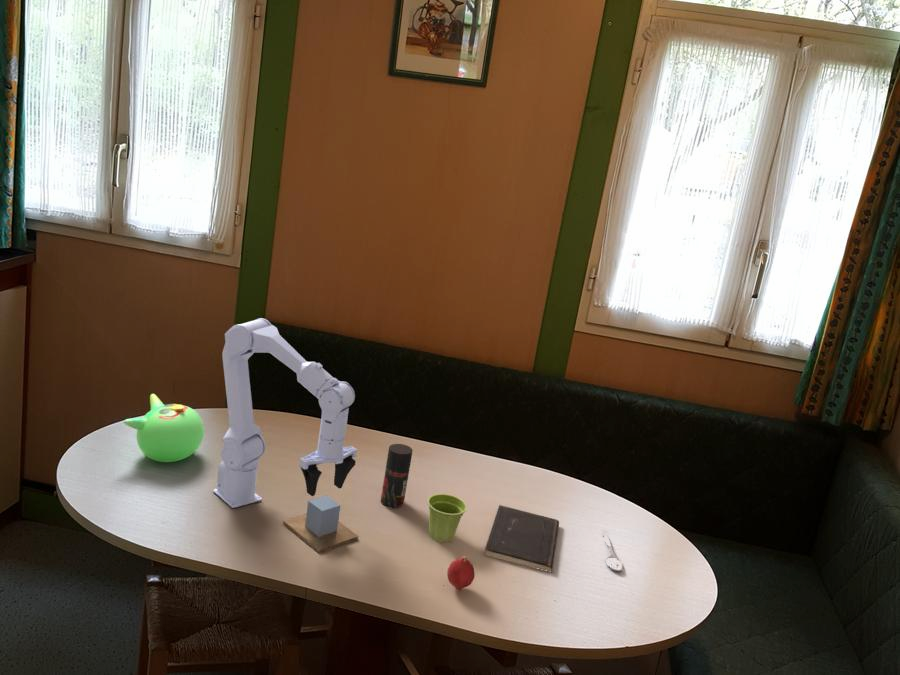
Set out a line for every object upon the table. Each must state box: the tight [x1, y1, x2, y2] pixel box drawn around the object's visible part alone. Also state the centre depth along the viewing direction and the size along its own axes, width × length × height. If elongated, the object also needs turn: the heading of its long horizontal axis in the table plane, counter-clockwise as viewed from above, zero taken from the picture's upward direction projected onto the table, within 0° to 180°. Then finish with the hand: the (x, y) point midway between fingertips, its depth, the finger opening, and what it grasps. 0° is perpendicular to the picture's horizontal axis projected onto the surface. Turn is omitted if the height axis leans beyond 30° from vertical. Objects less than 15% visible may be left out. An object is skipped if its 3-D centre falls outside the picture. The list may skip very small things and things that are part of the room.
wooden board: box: [282, 512, 359, 554], centre depth 171 cm, size 14×11×6 cm
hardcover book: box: [484, 504, 560, 573], centre depth 184 cm, size 16×23×2 cm
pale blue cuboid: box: [305, 495, 341, 537], centre depth 171 cm, size 5×5×7 cm
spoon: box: [607, 546, 623, 572], centre depth 186 cm, size 4×21×2 cm, turn 177°
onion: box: [446, 556, 476, 591], centre depth 159 cm, size 6×6×8 cm
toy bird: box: [123, 393, 205, 463], centre depth 192 cm, size 18×17×15 cm
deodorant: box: [380, 443, 414, 509], centre depth 189 cm, size 6×6×15 cm
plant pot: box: [427, 493, 468, 543], centre depth 178 cm, size 9×9×9 cm
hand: (324, 490), depth 171 cm, fingers open, 7 cm apart
